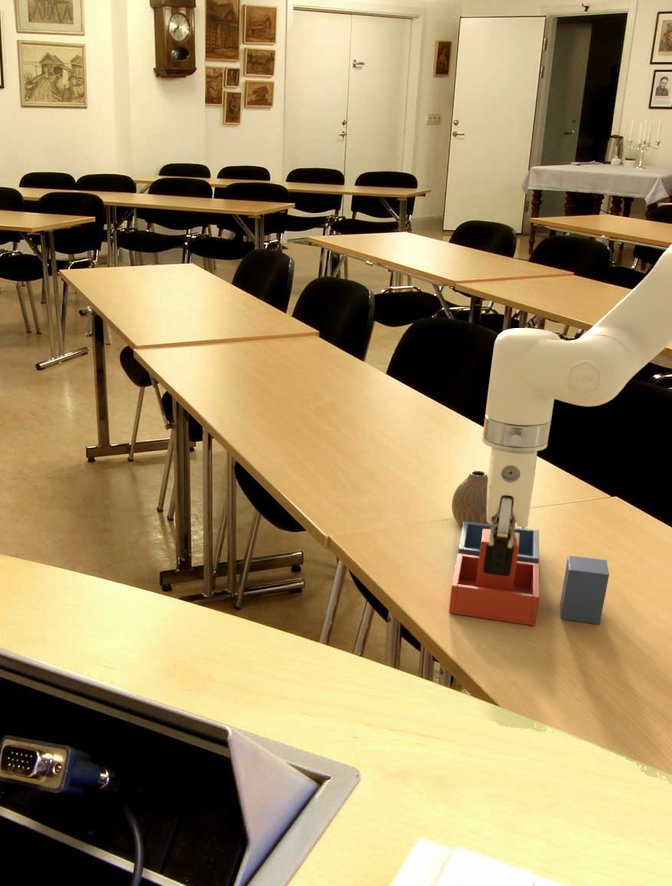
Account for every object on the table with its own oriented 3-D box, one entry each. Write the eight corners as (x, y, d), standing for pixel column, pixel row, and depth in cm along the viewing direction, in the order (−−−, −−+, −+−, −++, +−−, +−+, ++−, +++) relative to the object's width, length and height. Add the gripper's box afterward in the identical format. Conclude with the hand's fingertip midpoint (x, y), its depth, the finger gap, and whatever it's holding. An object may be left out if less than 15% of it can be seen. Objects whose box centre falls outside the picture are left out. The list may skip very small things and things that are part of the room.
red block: (512, 580, 121) (519, 532, 118) (511, 595, 117) (519, 546, 114) (476, 575, 122) (483, 528, 120) (474, 590, 119) (481, 541, 116)
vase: (458, 513, 149) (463, 462, 145) (501, 522, 145) (508, 470, 141) (443, 527, 144) (449, 476, 140) (488, 537, 140) (494, 484, 136)
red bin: (535, 590, 123) (539, 563, 122) (535, 626, 114) (539, 597, 113) (454, 579, 127) (457, 553, 125) (448, 613, 118) (451, 585, 116)
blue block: (597, 608, 118) (606, 560, 115) (599, 624, 114) (609, 574, 112) (560, 603, 120) (568, 555, 117) (560, 619, 116) (569, 569, 113)
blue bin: (535, 555, 134) (538, 530, 132) (535, 585, 125) (539, 558, 123) (460, 545, 137) (463, 521, 136) (455, 574, 128) (458, 548, 127)
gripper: (549, 455, 103) (527, 598, 110) (548, 415, 118) (528, 544, 125) (479, 449, 106) (462, 588, 113) (486, 410, 120) (470, 536, 127)
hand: (497, 563), depth 119 cm, fingers closed on red block, 4 cm apart
